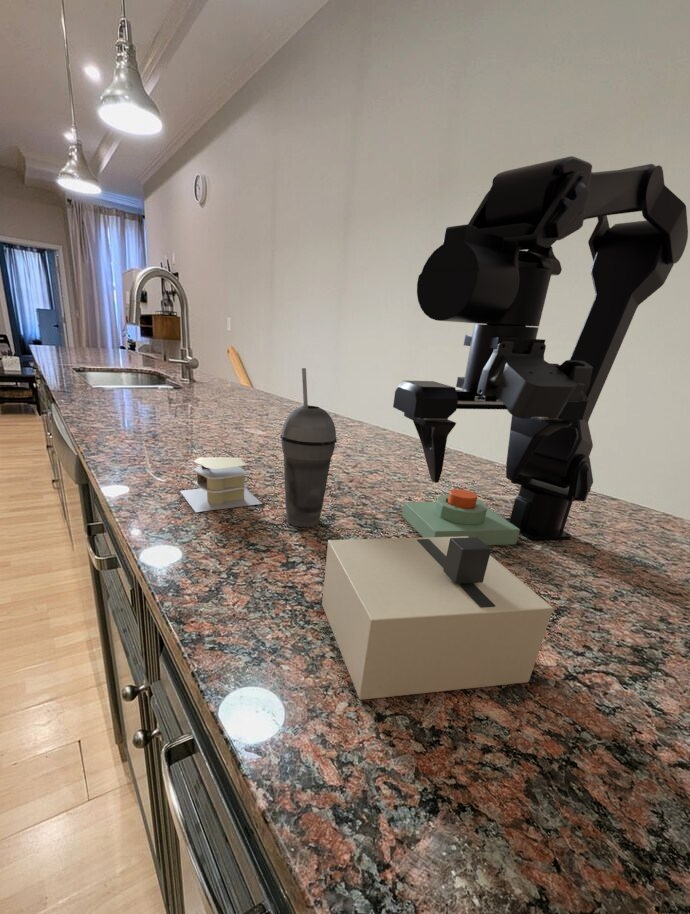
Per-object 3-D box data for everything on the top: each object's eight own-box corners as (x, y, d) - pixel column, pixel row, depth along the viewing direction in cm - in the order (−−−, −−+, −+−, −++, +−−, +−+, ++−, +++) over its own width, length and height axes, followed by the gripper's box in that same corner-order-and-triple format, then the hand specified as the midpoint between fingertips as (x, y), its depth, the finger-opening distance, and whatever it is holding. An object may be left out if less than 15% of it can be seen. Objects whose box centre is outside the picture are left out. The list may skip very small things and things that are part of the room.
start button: (466, 500, 63) (468, 488, 62) (480, 510, 60) (483, 498, 59) (442, 500, 62) (445, 489, 61) (455, 510, 59) (458, 498, 58)
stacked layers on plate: (241, 484, 73) (241, 452, 71) (262, 504, 66) (263, 468, 64) (179, 491, 69) (178, 456, 66) (195, 512, 61) (194, 474, 59)
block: (475, 514, 68) (481, 489, 66) (516, 544, 59) (523, 516, 57) (401, 515, 65) (405, 490, 64) (432, 547, 56) (438, 518, 55)
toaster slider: (469, 570, 36) (477, 536, 35) (483, 583, 34) (492, 548, 33) (442, 571, 36) (449, 537, 35) (454, 584, 34) (462, 549, 33)
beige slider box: (451, 594, 46) (465, 532, 44) (529, 682, 35) (554, 606, 32) (320, 601, 43) (326, 536, 41) (359, 700, 32) (371, 618, 29)
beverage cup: (324, 535, 58) (339, 373, 50) (270, 527, 59) (276, 368, 51) (332, 514, 64) (346, 369, 56) (283, 507, 65) (291, 364, 58)
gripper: (461, 321, 33) (428, 513, 39) (663, 333, 37) (604, 506, 43) (401, 320, 43) (382, 473, 49) (565, 329, 47) (529, 470, 53)
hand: (473, 480), depth 49 cm, fingers open, 9 cm apart
